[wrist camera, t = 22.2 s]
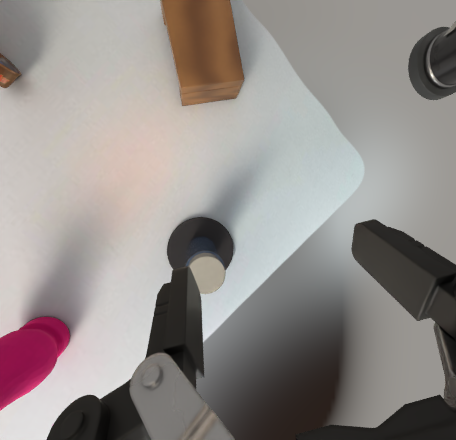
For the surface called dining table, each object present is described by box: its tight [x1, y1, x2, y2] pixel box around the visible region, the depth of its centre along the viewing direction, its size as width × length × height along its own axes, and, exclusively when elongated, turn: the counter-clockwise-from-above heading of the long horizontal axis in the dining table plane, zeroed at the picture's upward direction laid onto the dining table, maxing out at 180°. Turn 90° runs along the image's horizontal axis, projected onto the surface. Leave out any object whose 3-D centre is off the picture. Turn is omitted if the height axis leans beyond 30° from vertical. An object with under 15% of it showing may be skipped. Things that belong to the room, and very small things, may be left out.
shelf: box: [160, 0, 244, 106], centre depth 27 cm, size 8×12×5 cm, turn 12°
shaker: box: [185, 237, 225, 294], centre depth 27 cm, size 4×4×10 cm
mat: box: [167, 217, 233, 270], centre depth 32 cm, size 10×10×1 cm
